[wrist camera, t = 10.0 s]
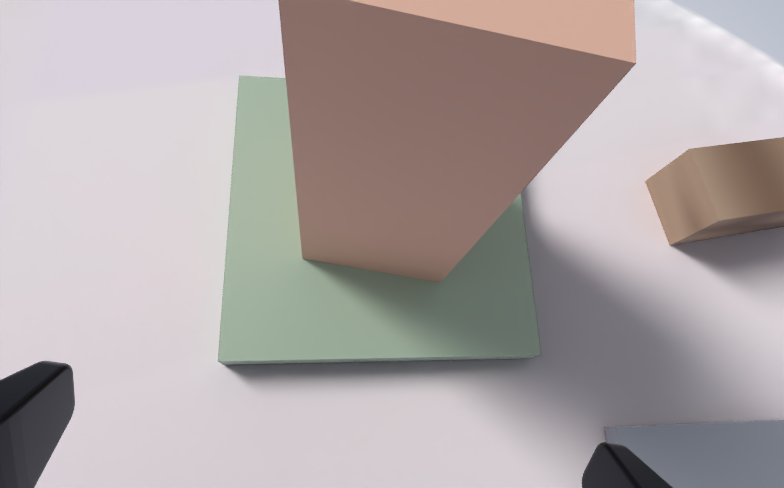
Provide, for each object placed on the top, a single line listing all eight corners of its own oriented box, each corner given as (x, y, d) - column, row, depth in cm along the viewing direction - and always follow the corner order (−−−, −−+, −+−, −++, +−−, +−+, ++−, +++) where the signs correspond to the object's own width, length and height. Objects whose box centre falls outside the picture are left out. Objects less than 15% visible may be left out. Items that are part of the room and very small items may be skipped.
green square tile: (499, 104, 22) (507, 90, 22) (530, 358, 19) (541, 355, 18) (242, 91, 21) (238, 75, 20) (223, 364, 17) (217, 361, 16)
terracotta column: (453, 161, 20) (628, -170, 9) (440, 282, 18) (636, 63, 7) (327, 136, 20) (342, -245, 8) (302, 258, 18) (276, -15, 7)
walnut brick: (755, 167, 24) (815, 133, 21) (783, 227, 23) (849, 200, 20) (642, 183, 22) (689, 148, 20) (666, 246, 22) (719, 220, 19)
